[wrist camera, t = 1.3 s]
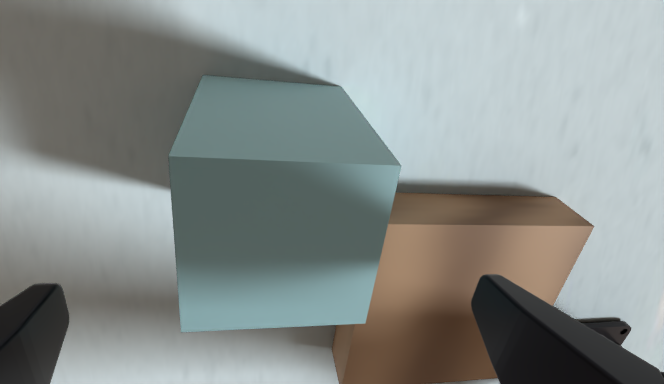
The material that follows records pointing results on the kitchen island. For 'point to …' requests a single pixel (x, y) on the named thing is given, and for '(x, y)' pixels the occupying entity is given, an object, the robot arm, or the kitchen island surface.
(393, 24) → the kitchen island surface
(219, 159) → the teal block
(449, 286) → the walnut base block
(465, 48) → the kitchen island surface
